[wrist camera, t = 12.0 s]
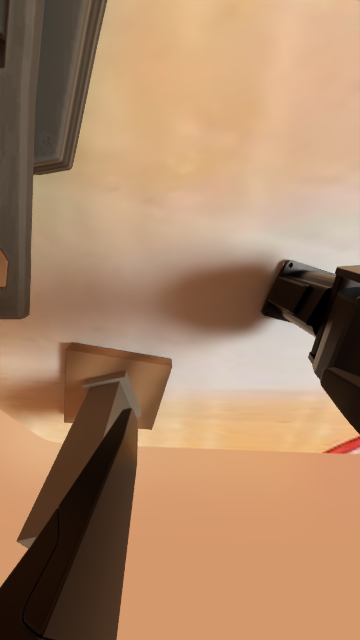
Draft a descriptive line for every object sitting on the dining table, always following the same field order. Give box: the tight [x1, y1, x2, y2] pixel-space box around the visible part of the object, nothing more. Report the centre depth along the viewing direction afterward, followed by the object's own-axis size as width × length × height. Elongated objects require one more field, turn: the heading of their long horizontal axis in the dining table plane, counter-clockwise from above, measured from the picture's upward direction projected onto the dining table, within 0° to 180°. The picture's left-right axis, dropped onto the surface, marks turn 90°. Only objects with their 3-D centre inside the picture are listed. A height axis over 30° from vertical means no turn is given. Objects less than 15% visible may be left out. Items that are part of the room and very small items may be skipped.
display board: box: [64, 342, 172, 430], centre depth 23 cm, size 12×12×2 cm
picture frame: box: [17, 371, 141, 549], centre depth 17 cm, size 5×7×12 cm
